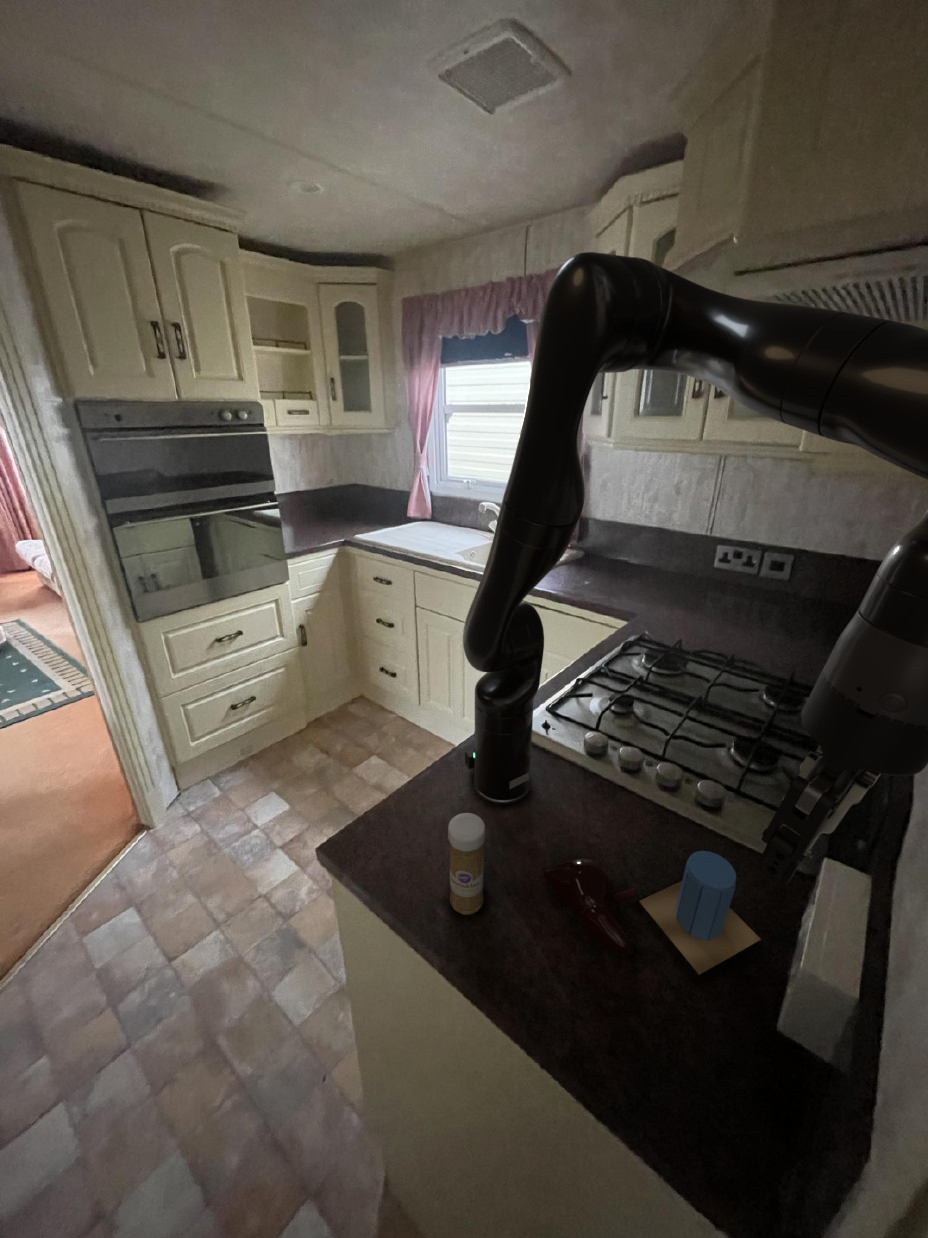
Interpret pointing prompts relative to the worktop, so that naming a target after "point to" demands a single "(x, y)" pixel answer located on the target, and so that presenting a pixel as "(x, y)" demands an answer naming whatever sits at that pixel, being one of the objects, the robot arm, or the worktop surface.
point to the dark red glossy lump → (592, 900)
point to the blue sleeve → (705, 895)
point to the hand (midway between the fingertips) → (793, 850)
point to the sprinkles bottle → (466, 862)
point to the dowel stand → (693, 948)
